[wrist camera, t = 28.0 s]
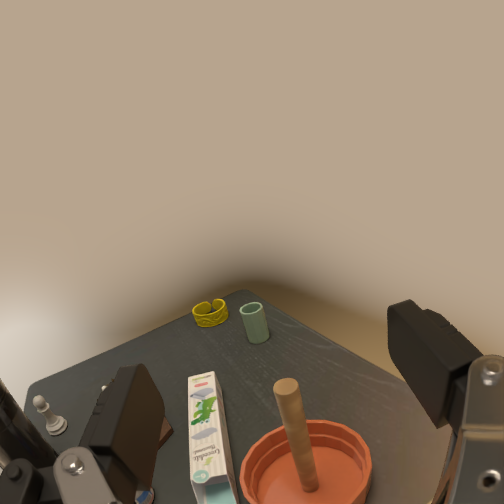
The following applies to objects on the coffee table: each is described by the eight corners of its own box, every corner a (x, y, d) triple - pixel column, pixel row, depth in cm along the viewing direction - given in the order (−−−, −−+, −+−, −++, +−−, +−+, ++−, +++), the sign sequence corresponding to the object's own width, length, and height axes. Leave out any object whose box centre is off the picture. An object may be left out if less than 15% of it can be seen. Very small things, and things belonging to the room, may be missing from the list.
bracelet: (229, 322, 72) (225, 310, 71) (195, 330, 72) (191, 318, 71) (228, 307, 79) (224, 296, 78) (197, 315, 79) (193, 303, 78)
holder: (251, 346, 61) (242, 316, 59) (246, 335, 66) (237, 306, 63) (272, 339, 62) (264, 309, 60) (266, 328, 66) (258, 300, 64)
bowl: (269, 552, 22) (257, 540, 20) (240, 464, 35) (229, 442, 34) (390, 504, 24) (395, 484, 22) (340, 428, 37) (337, 403, 36)
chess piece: (57, 417, 48) (36, 387, 46) (71, 422, 47) (49, 391, 44) (45, 432, 44) (22, 402, 41) (58, 438, 42) (34, 407, 40)
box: (221, 389, 51) (246, 536, 25) (196, 395, 51) (208, 542, 24) (213, 370, 50) (235, 525, 23) (188, 377, 49) (194, 530, 23)
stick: (300, 492, 29) (270, 394, 23) (303, 479, 31) (276, 377, 25) (317, 493, 28) (295, 394, 22) (320, 479, 30) (300, 377, 24)
